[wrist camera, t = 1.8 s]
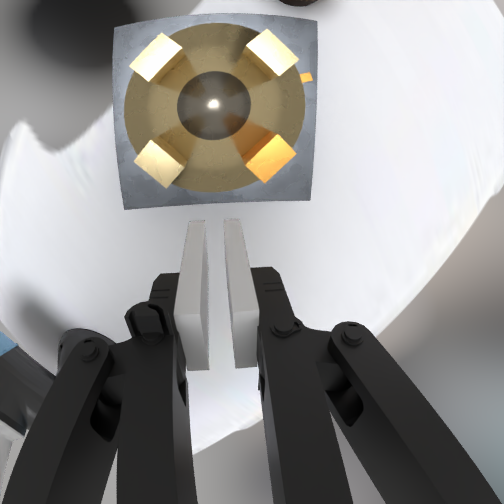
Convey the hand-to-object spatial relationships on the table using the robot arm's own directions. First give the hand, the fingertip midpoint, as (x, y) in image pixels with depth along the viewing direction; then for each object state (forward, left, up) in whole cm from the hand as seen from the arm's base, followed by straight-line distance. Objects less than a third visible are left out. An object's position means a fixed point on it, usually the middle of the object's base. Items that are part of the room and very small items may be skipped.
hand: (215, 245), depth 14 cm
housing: (0, +7, -20) cm, 22 cm away
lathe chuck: (0, +7, -17) cm, 19 cm away
